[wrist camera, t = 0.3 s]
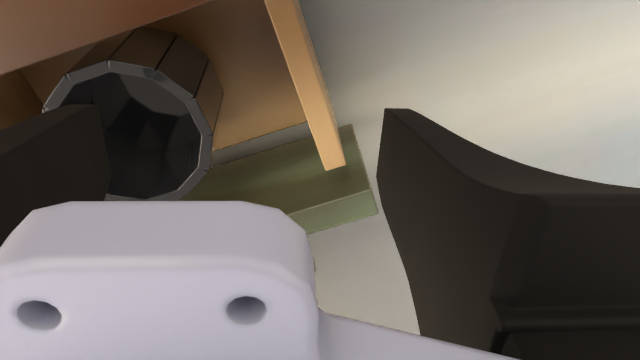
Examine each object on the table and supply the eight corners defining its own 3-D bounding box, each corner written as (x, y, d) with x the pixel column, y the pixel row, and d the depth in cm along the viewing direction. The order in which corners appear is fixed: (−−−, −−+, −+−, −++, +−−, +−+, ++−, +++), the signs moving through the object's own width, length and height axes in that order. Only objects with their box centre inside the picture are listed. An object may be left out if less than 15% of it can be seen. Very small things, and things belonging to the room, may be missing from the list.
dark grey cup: (190, 2, 19) (166, 38, 14) (243, 123, 21) (236, 181, 17) (64, 47, 19) (6, 94, 15) (132, 159, 22) (98, 224, 18)
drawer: (377, 207, 25) (400, 284, 21) (144, 276, 27) (115, 364, 22) (260, -173, 17) (255, -193, 12) (-78, -43, 18) (-208, -14, 13)
